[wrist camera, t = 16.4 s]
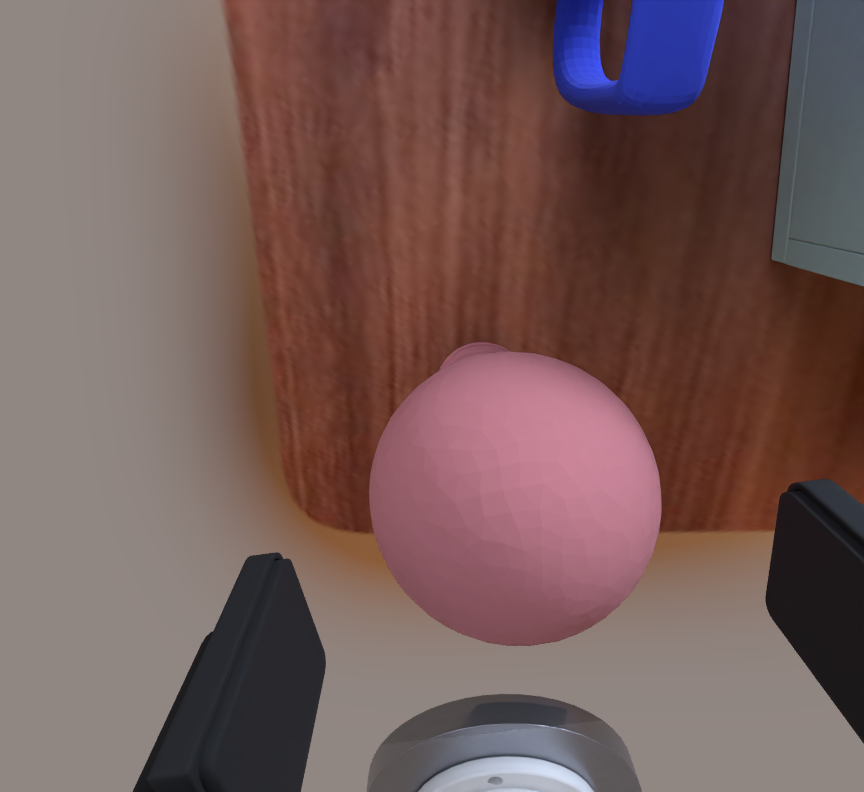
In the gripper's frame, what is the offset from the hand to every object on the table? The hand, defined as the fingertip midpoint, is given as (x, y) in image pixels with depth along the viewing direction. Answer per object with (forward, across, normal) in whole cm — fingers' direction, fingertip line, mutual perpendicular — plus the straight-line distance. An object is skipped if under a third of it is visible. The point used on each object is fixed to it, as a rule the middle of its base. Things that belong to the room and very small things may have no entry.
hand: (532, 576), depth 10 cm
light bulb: (+12, 0, +1) cm, 12 cm away
